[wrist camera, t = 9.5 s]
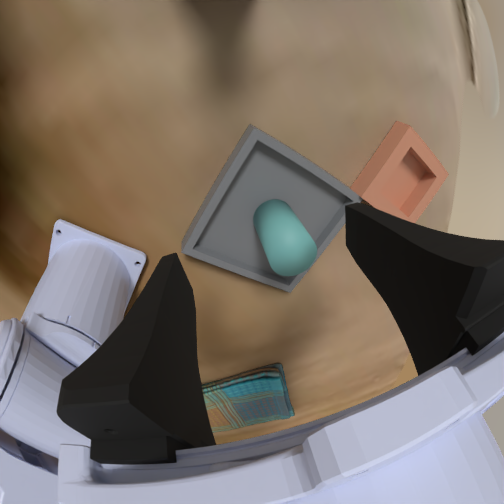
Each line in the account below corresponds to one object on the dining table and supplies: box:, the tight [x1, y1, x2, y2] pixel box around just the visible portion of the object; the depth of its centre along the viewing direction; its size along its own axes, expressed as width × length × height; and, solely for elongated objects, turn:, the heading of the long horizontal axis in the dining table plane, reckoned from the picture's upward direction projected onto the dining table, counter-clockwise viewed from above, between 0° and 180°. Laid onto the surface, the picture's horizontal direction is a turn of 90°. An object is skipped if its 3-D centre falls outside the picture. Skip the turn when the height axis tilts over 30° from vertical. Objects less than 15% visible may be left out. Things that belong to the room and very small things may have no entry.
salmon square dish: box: [350, 121, 449, 223], centre depth 21 cm, size 7×7×2 cm
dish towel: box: [202, 364, 295, 433], centre depth 37 cm, size 17×23×2 cm
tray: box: [181, 124, 363, 293], centre depth 21 cm, size 10×10×2 cm
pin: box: [253, 199, 317, 276], centre depth 19 cm, size 3×3×5 cm
